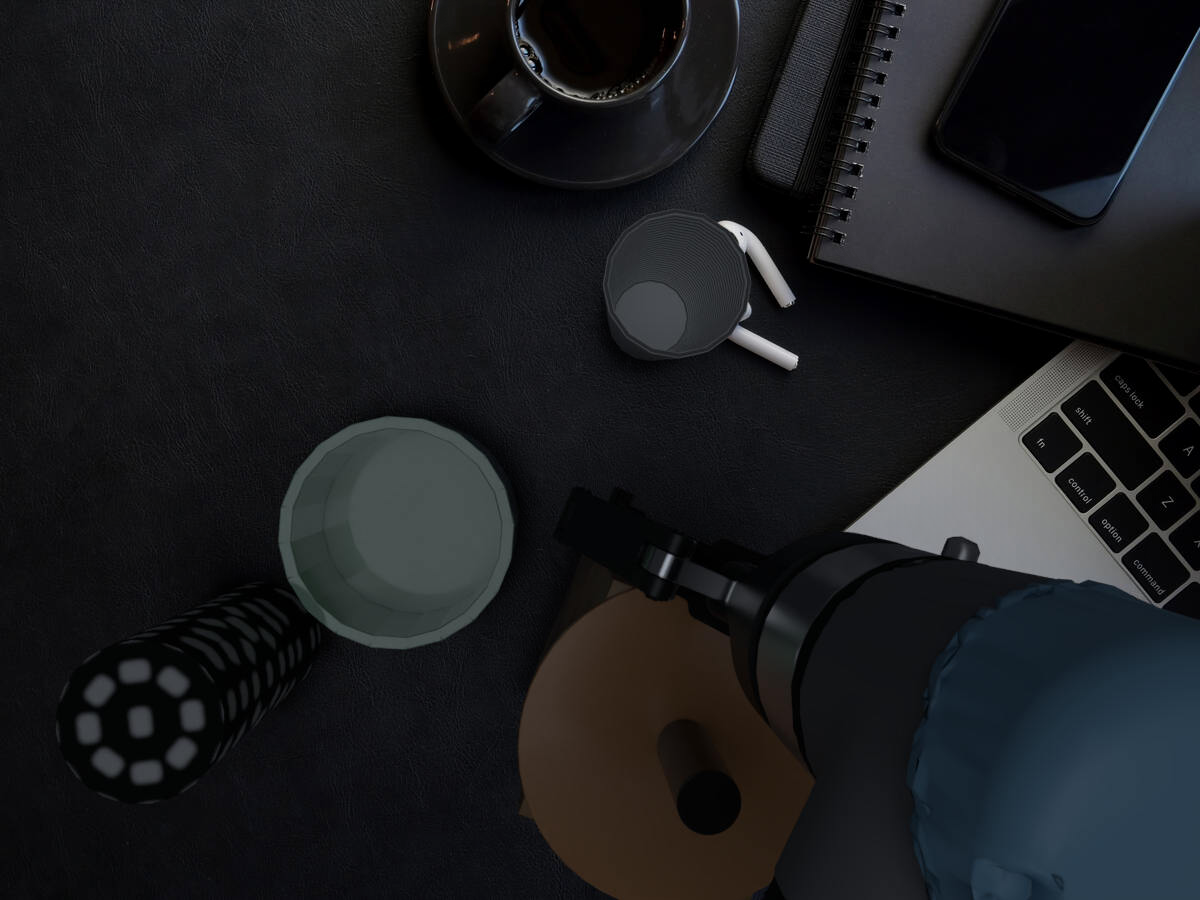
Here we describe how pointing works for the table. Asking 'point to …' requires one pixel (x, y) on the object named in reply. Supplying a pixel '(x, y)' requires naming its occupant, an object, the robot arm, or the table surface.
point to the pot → (398, 531)
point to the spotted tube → (183, 692)
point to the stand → (581, 596)
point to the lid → (655, 758)
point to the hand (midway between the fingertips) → (732, 575)
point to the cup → (675, 286)
